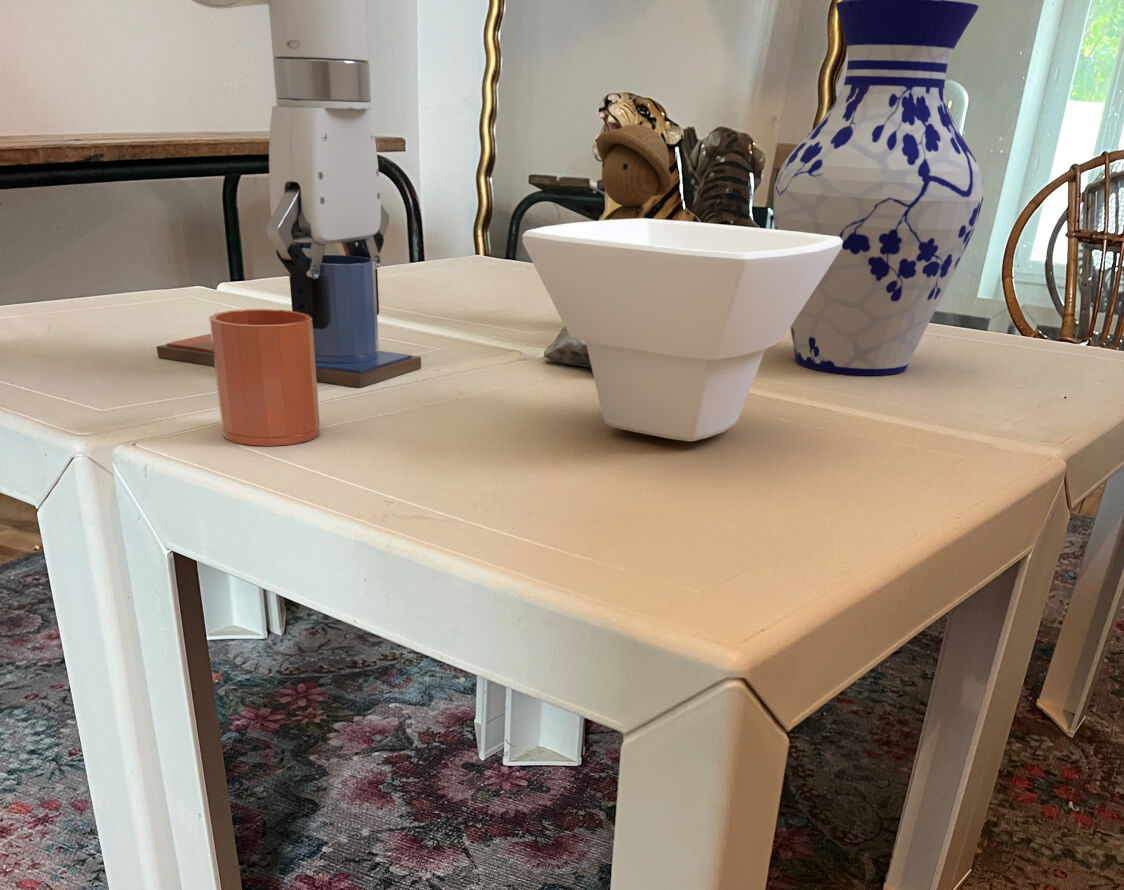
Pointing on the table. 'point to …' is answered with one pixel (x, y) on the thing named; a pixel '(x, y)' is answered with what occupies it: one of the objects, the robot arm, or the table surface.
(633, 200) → the figurine
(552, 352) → the rock
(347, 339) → the blue cup
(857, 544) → the table surface
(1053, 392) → the table surface
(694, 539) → the table surface
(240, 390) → the terracotta cup
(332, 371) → the board
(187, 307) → the table surface
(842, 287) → the vase
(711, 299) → the bowl
